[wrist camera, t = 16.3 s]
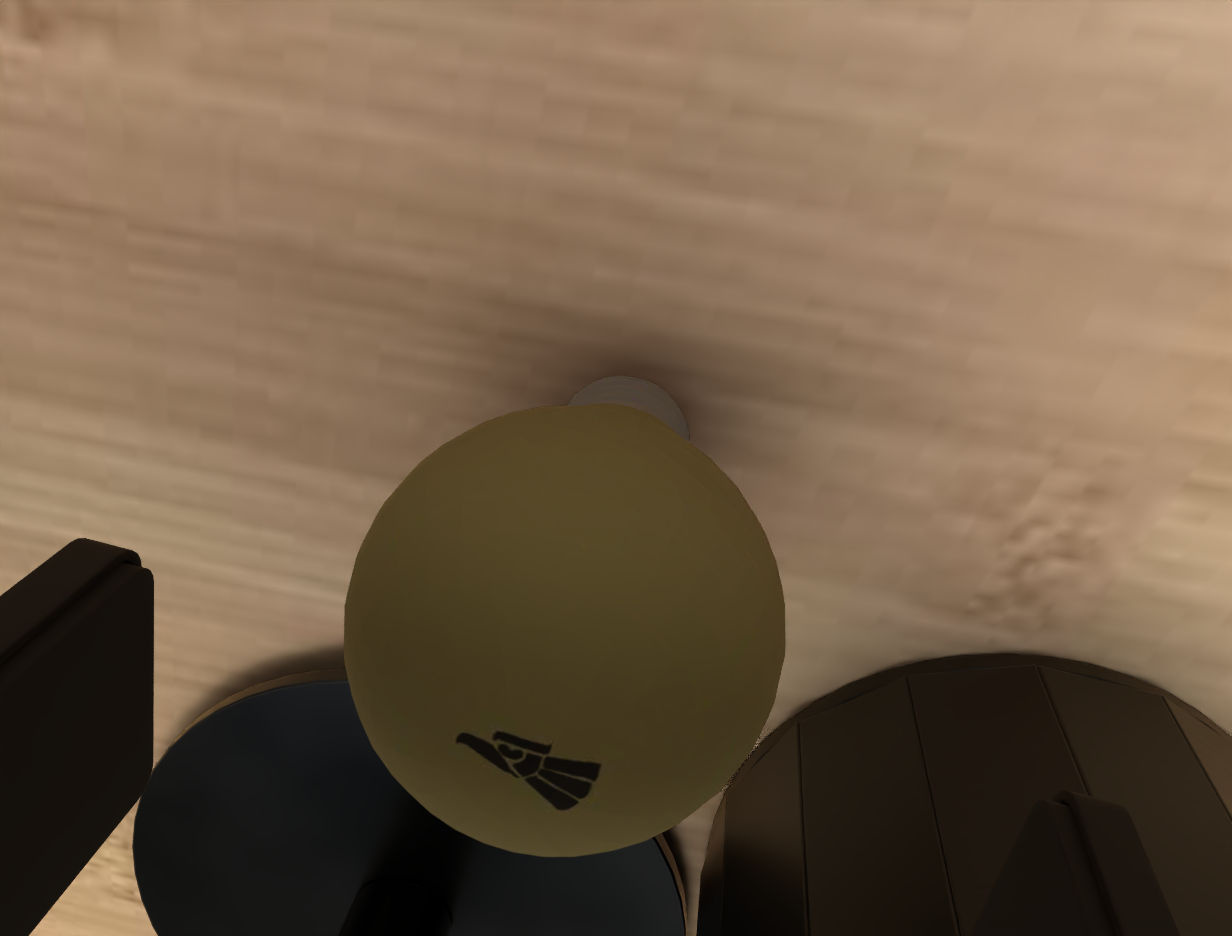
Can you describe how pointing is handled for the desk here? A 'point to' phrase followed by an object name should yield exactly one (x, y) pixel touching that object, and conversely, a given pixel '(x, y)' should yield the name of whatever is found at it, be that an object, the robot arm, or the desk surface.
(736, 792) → the trash can
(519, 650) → the light bulb
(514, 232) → the desk surface
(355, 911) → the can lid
